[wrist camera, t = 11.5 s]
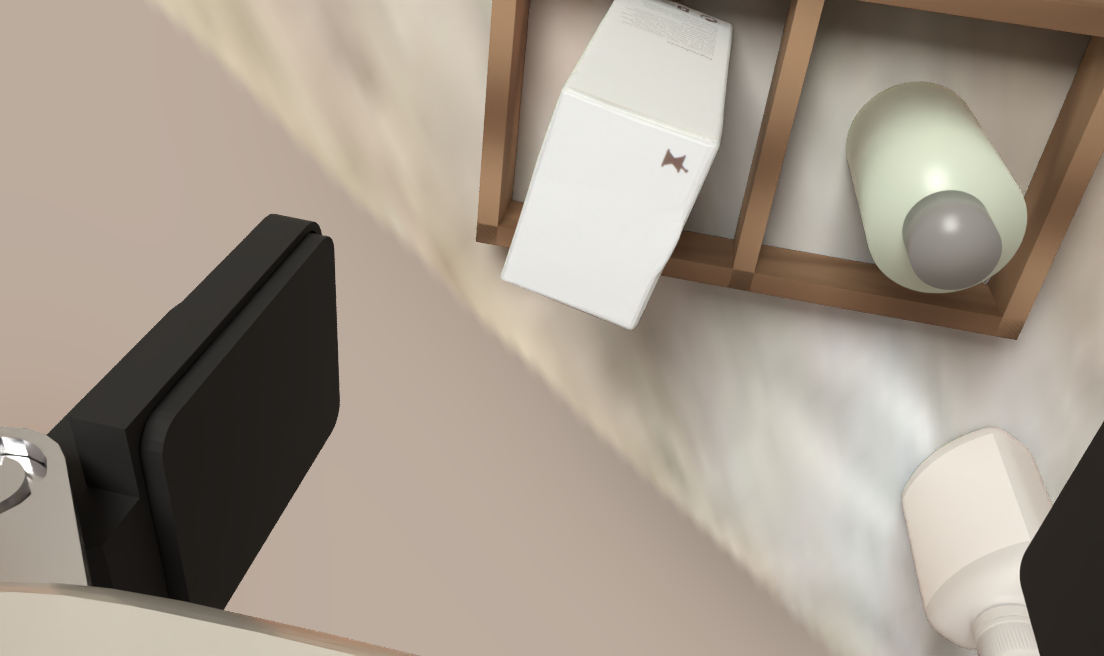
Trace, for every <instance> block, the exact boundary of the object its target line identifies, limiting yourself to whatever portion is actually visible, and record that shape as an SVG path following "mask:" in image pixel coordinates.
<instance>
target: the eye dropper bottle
mask: <svg viewBox="0 0 1104 656" xmlns="http://www.w3.org/2000/svg"><path fill="white" fill-rule="evenodd" d="M902 506H903V511H904V516H905V521H906V526H907V531H908V536H909V541H910V546H911V551H912V556H913V560H914V565H915V570H916V575H917V579H918V584H919V589H920V594H921V598H922V602H923V606H924V610H925V614H926V617H927V620H928V621H929V623H930V624H931V626H932V627H933V628H934V629H935V630H936V631H937V632H938V633H939V634H941V635H942V636H943V637H945V638H946V639H948V640H949V641H951V642H953V643H954V644H956V645H958V646H960V647H963V648H967V649H977V651H978V655H979V656H1040V654H1039V651H1038V647H1037V643H1036V640H1035V636H1034V632H1033V629H1032V625H1031V622H1030V618H1029V614H1028V611H1027V607H1026V603H1025V600H1024V596H1023V592H1022V589H1021V585H1020V565H1021V561H1022V557H1023V555H1024V553H1025V551H1026V549H1027V548H1028V546H1029V544H1030V543H1031V541H1032V539H1033V538H1034V536H1035V534H1036V533H1037V531H1038V529H1039V528H1040V526H1041V524H1042V523H1043V521H1044V519H1045V518H1046V516H1047V514H1048V513H1049V511H1050V510H1051V508H1052V506H1053V505H1052V503H1051V501H1050V498H1049V496H1048V493H1047V491H1046V488H1045V486H1044V483H1043V481H1042V478H1041V476H1040V473H1039V471H1038V468H1037V466H1036V463H1035V461H1034V458H1033V456H1032V454H1031V452H1030V451H1029V449H1028V448H1027V447H1026V446H1025V445H1023V444H1022V443H1021V442H1019V441H1018V440H1017V439H1015V438H1014V437H1012V436H1011V435H1010V434H1008V433H1007V432H1005V431H1004V430H1002V429H999V428H996V427H987V428H983V429H979V430H976V431H973V432H971V433H968V434H966V435H963V436H961V437H959V438H957V439H955V440H953V441H951V442H949V443H947V444H946V445H944V446H942V447H941V448H939V449H938V450H937V451H935V452H934V453H933V454H931V455H930V456H929V457H928V458H927V459H926V460H924V461H923V462H922V463H921V465H920V466H919V467H918V468H917V469H916V470H915V472H914V473H913V474H912V476H911V477H910V479H909V480H908V482H907V483H906V485H905V487H904V490H903V492H902Z"/></svg>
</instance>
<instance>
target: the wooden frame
mask: <svg viewBox="0 0 1104 656" xmlns="http://www.w3.org/2000/svg"><path fill="white" fill-rule="evenodd" d="M824 1H825V0H791V2H790V7H789V11H788V15H787V19H786V23H785V27H784V32H783V36H782V40H781V44H780V48H779V52H778V57H777V61H776V65H775V69H774V73H773V78H772V82H771V86H770V90H769V94H768V98H767V103H766V107H765V111H764V115H763V119H762V124H761V128H760V132H759V136H758V140H757V144H756V149H755V153H754V157H753V161H752V165H751V169H750V174H749V178H748V182H747V186H746V190H745V195H744V199H743V203H742V207H741V211H740V215H739V220H738V224H737V228H736V232H735V236H734V240H733V239H728V238H722V237H716V236H711V235H705V234H699V233H694V232H688V231H682V232H681V235H680V238H679V240H678V243H677V245H676V247H675V249H674V251H673V253H672V255H671V256H670V258H669V260H668V262H667V263H666V265H665V267H664V269H663V271H662V273H661V275H662V276H668V277H673V278H679V279H684V280H690V281H695V282H701V283H706V284H712V285H717V286H723V287H728V288H734V289H739V290H745V291H750V292H756V293H761V294H767V295H772V296H778V297H783V298H789V299H794V300H800V301H805V302H811V303H816V304H822V305H827V306H833V307H838V308H844V309H849V310H855V311H860V312H866V313H871V314H877V315H882V316H888V317H893V318H899V319H904V320H910V321H915V322H921V323H926V324H932V325H937V326H943V327H948V328H954V329H959V330H964V331H970V332H975V333H981V334H986V335H992V336H997V337H1003V338H1008V339H1014V340H1017V339H1018V336H1019V334H1020V332H1021V330H1022V328H1023V325H1024V323H1025V321H1026V319H1027V317H1028V315H1029V312H1030V310H1031V308H1032V306H1033V304H1034V301H1035V299H1036V297H1037V295H1038V293H1039V290H1040V288H1041V286H1042V284H1043V282H1044V280H1045V277H1046V275H1047V273H1048V271H1049V269H1050V266H1051V264H1052V262H1053V260H1054V258H1055V256H1056V253H1057V251H1058V249H1059V247H1060V245H1061V242H1062V240H1063V238H1064V236H1065V234H1066V232H1067V229H1068V227H1069V225H1070V223H1071V221H1072V218H1073V216H1074V214H1075V212H1076V210H1077V207H1078V205H1079V203H1080V201H1081V199H1082V197H1083V194H1084V192H1085V190H1086V188H1087V186H1088V183H1089V181H1090V179H1091V177H1092V175H1093V173H1094V170H1095V168H1096V166H1097V164H1098V162H1099V159H1100V157H1101V155H1102V153H1103V151H1104V0H859V1H865V2H872V3H879V4H885V5H892V6H899V7H905V8H912V9H919V10H925V11H932V12H939V13H945V14H952V15H959V16H965V17H972V18H979V19H985V20H992V21H999V22H1005V23H1012V24H1019V25H1025V26H1032V27H1039V28H1045V29H1052V30H1059V31H1065V32H1072V33H1079V34H1085V35H1092V37H1091V40H1090V42H1089V45H1088V47H1087V49H1086V52H1085V54H1084V56H1083V59H1082V61H1081V64H1080V66H1079V68H1078V71H1077V73H1076V76H1075V78H1074V80H1073V83H1072V85H1071V87H1070V90H1069V92H1068V95H1067V97H1066V99H1065V102H1064V104H1063V106H1062V109H1061V111H1060V114H1059V116H1058V118H1057V121H1056V123H1055V125H1054V128H1053V130H1052V133H1051V135H1050V137H1049V140H1048V142H1047V144H1046V147H1045V149H1044V152H1043V154H1042V156H1041V159H1040V161H1039V164H1038V166H1037V168H1036V171H1035V173H1034V175H1033V178H1032V180H1031V183H1030V185H1029V187H1028V190H1027V192H1026V194H1025V197H1024V200H1025V203H1026V208H1027V225H1026V231H1025V234H1024V237H1023V240H1022V242H1021V244H1020V246H1019V248H1018V250H1017V251H1016V253H1015V254H1014V256H1013V257H1012V258H1011V260H1010V261H1009V262H1008V263H1007V264H1006V265H1005V266H1004V267H1003V268H1002V269H1001V270H1000V271H999V272H997V273H996V274H994V275H993V276H992V277H991V278H990V280H989V282H988V284H982V283H979V284H977V285H975V286H972V287H970V288H967V289H963V290H960V291H955V292H949V293H926V292H919V291H915V290H911V289H909V288H906V287H903V286H901V285H899V284H897V283H896V282H894V281H893V280H891V279H890V278H888V277H887V276H886V275H885V274H884V273H883V272H882V271H881V270H880V269H879V267H878V266H877V265H875V264H869V263H863V262H858V261H852V260H846V259H841V258H835V257H829V256H824V255H818V254H812V253H807V252H801V251H795V250H790V249H784V248H778V247H773V246H767V245H762V241H763V237H764V233H765V229H766V225H767V221H768V217H769V214H770V210H771V206H772V202H773V198H774V194H775V190H776V187H777V183H778V179H779V175H780V171H781V167H782V163H783V159H784V156H785V152H786V148H787V144H788V140H789V136H790V132H791V129H792V125H793V121H794V117H795V113H796V109H797V105H798V101H799V98H800V94H801V90H802V86H803V82H804V78H805V74H806V71H807V67H808V63H809V59H810V55H811V51H812V47H813V43H814V40H815V36H816V32H817V28H818V24H819V20H820V16H821V13H822V9H823V5H824ZM529 3H530V0H493V1H492V15H491V30H490V45H489V59H488V74H487V88H486V103H485V118H484V132H483V147H482V161H481V176H480V191H479V205H478V220H477V235H476V242H481V243H486V244H492V245H497V246H503V247H508V248H510V246H511V243H512V240H513V237H514V233H515V230H516V227H517V224H518V221H519V217H520V214H521V211H522V208H523V205H524V202H518V201H513V200H512V193H513V182H514V171H515V159H516V148H517V137H518V126H519V115H520V104H521V93H522V81H523V70H524V59H525V48H526V37H527V26H528V15H529Z"/></svg>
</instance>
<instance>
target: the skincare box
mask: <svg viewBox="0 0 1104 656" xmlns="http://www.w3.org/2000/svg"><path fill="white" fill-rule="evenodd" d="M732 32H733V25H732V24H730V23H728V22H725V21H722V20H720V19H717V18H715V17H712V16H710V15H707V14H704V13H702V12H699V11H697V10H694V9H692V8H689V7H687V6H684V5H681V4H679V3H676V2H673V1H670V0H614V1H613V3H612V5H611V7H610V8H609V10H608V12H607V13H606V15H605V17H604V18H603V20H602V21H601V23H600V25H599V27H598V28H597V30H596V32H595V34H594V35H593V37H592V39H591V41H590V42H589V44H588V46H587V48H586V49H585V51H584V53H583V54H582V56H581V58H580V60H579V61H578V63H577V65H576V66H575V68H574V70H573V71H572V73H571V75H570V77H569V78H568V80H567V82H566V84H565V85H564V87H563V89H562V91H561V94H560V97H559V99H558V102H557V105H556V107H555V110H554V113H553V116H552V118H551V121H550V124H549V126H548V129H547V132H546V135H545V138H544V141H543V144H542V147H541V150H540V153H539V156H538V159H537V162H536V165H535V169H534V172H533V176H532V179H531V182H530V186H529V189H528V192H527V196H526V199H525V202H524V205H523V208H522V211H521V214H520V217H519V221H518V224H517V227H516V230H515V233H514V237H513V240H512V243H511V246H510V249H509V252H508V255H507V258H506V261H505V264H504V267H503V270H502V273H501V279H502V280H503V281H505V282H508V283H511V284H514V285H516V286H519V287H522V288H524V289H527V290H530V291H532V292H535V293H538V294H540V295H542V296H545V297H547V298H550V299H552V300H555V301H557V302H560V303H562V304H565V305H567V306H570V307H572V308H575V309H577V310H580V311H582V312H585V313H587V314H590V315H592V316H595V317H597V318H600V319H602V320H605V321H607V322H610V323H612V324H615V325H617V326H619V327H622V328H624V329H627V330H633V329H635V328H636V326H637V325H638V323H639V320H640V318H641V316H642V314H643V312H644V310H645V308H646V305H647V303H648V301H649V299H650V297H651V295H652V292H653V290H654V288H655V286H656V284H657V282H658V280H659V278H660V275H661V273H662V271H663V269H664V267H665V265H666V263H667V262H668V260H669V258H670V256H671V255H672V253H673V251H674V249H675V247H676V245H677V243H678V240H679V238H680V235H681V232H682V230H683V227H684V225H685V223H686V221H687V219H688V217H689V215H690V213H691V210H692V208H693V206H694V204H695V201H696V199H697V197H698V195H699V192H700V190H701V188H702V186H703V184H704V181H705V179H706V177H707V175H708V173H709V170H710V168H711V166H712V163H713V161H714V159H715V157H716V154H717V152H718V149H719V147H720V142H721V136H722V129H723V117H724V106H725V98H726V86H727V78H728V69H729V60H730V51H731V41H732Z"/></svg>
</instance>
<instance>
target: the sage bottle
mask: <svg viewBox="0 0 1104 656" xmlns="http://www.w3.org/2000/svg"><path fill="white" fill-rule="evenodd" d="M846 155H847V160H848V164H849V168H850V172H851V177H852V181H853V185H854V189H855V193H856V197H857V201H858V206H859V210H860V214H861V218H862V222H863V226H864V231H865V235H866V239H867V243H868V247H869V251H870V253H871V256H872V258H873V260H874V262H875V263H876V265H877V266H878V267H879V269H880V270H881V271H882V272H883V273H884V274H885V275H886V276H887V277H888V278H890V279H891V280H893V281H894V282H896V283H897V284H899V285H901V286H903V287H906V288H909V289H911V290H915V291H919V292H926V293H949V292H955V291H960V290H963V289H967V288H970V287H972V286H975V285H977V284H979V283H981V282H983V281H985V280H987V279H989V278H990V277H992V276H993V275H994V274H996V273H997V272H999V271H1000V270H1001V269H1002V268H1003V267H1004V266H1005V265H1006V264H1007V263H1008V262H1009V261H1010V260H1011V258H1012V257H1013V256H1014V254H1015V253H1016V251H1017V250H1018V248H1019V246H1020V244H1021V242H1022V240H1023V237H1024V234H1025V231H1026V225H1027V208H1026V203H1025V200H1024V197H1023V195H1022V193H1021V190H1020V188H1019V187H1018V185H1017V184H1016V182H1015V180H1014V179H1013V177H1012V176H1011V174H1010V172H1009V171H1008V169H1007V168H1006V166H1005V164H1004V163H1003V161H1002V160H1001V158H1000V156H999V155H998V153H997V152H996V150H995V148H994V147H993V145H992V144H991V142H990V140H989V139H988V137H987V136H986V134H985V132H984V131H983V129H982V128H981V126H980V124H979V123H978V121H977V119H976V118H975V116H974V115H973V113H972V111H971V110H970V108H969V107H968V105H967V104H966V103H965V101H964V100H963V99H962V98H961V97H960V96H959V95H957V94H956V93H955V92H953V91H952V90H950V89H948V88H946V87H944V86H941V85H938V84H934V83H928V82H910V83H904V84H900V85H896V86H894V87H891V88H889V89H886V90H885V91H883V92H881V93H879V94H878V95H876V96H875V97H873V98H872V99H871V100H870V101H869V102H867V103H866V104H865V105H864V106H863V107H862V109H861V110H860V111H859V112H858V114H857V115H856V117H855V118H854V120H853V122H852V124H851V126H850V129H849V132H848V136H847V141H846Z"/></svg>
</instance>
